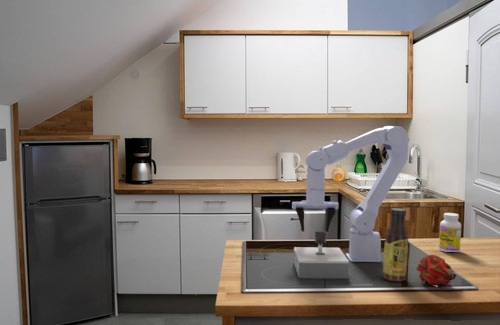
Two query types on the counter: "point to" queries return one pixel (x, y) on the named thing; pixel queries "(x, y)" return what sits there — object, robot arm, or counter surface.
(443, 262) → the dragon fruit
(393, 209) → the sauce bottle
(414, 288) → the counter surface
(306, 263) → the slotted white block
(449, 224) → the supplement bottle
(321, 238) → the plunger
